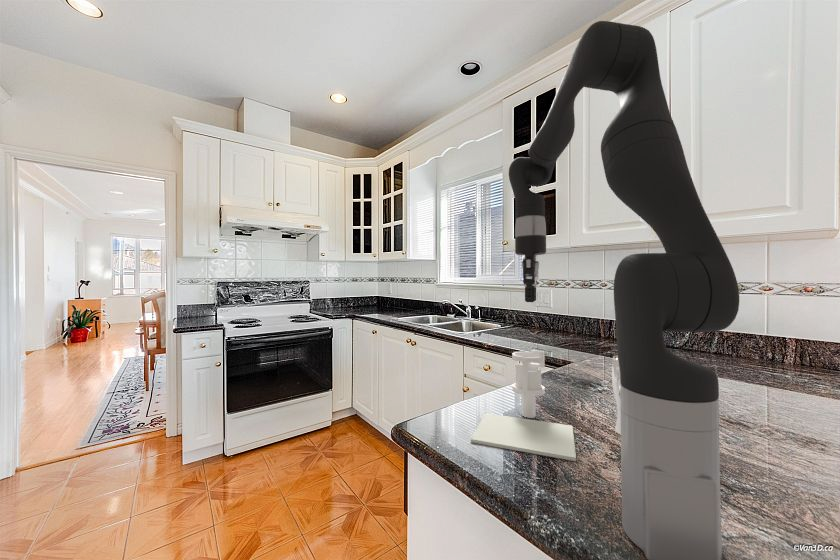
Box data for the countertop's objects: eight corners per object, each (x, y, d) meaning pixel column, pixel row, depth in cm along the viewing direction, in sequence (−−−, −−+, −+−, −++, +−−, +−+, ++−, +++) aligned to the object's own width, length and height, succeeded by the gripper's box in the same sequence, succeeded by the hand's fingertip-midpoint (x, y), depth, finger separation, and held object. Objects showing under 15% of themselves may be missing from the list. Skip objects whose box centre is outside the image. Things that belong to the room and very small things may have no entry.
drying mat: (576, 461, 56) (576, 457, 56) (470, 442, 63) (470, 439, 63) (572, 428, 69) (572, 425, 69) (485, 415, 76) (485, 413, 76)
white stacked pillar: (542, 424, 71) (541, 353, 72) (509, 417, 75) (508, 350, 75) (547, 413, 77) (546, 348, 78) (516, 407, 81) (516, 345, 81)
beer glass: (634, 443, 62) (633, 363, 63) (604, 428, 69) (603, 355, 69) (662, 439, 64) (661, 361, 64) (631, 424, 71) (630, 354, 71)
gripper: (545, 230, 77) (545, 303, 77) (546, 238, 90) (547, 300, 90) (511, 232, 80) (512, 302, 80) (518, 240, 93) (518, 300, 93)
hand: (530, 301), depth 85 cm, fingers open, 6 cm apart
